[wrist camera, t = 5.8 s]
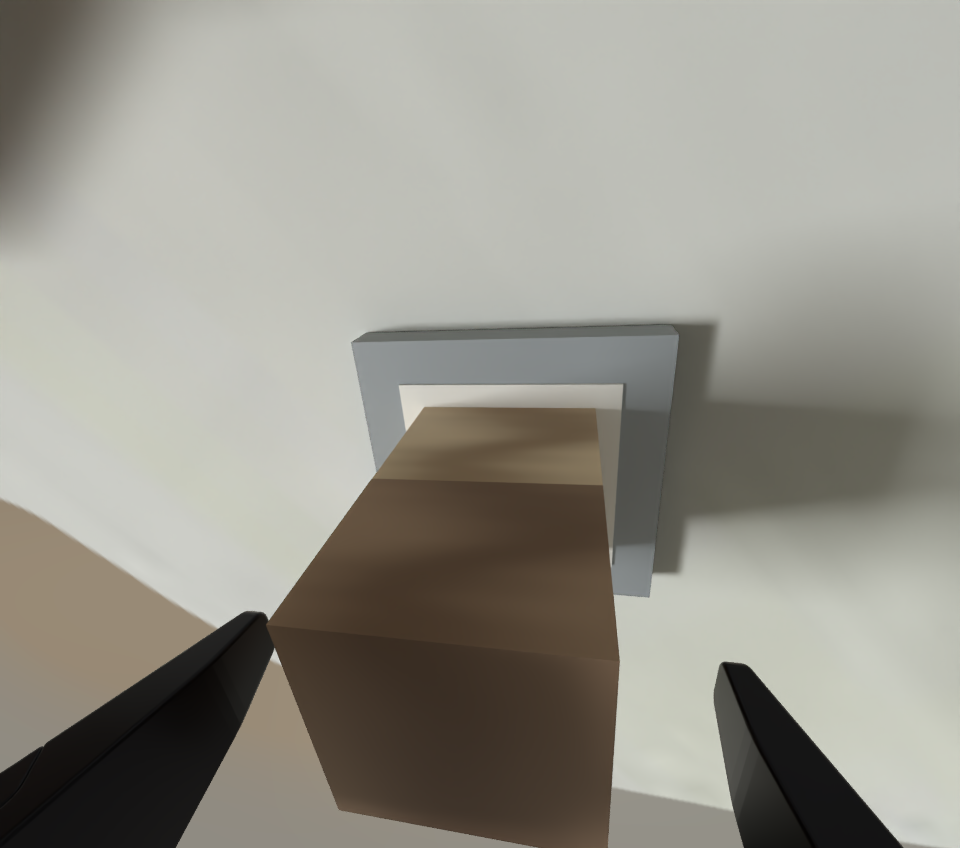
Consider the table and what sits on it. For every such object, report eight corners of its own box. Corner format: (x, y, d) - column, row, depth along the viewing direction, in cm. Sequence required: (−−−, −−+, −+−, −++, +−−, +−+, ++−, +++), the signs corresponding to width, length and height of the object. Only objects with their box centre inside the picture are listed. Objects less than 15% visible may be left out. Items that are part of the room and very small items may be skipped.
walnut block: (602, 484, 9) (619, 661, 6) (597, 655, 11) (607, 860, 8) (371, 478, 10) (265, 624, 7) (405, 635, 12) (339, 809, 9)
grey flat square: (671, 324, 13) (680, 335, 12) (645, 573, 16) (649, 599, 15) (366, 332, 14) (349, 343, 13) (406, 556, 18) (396, 578, 17)
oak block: (595, 408, 13) (603, 488, 9) (590, 549, 15) (594, 657, 11) (424, 407, 14) (372, 479, 10) (442, 539, 16) (404, 636, 12)
